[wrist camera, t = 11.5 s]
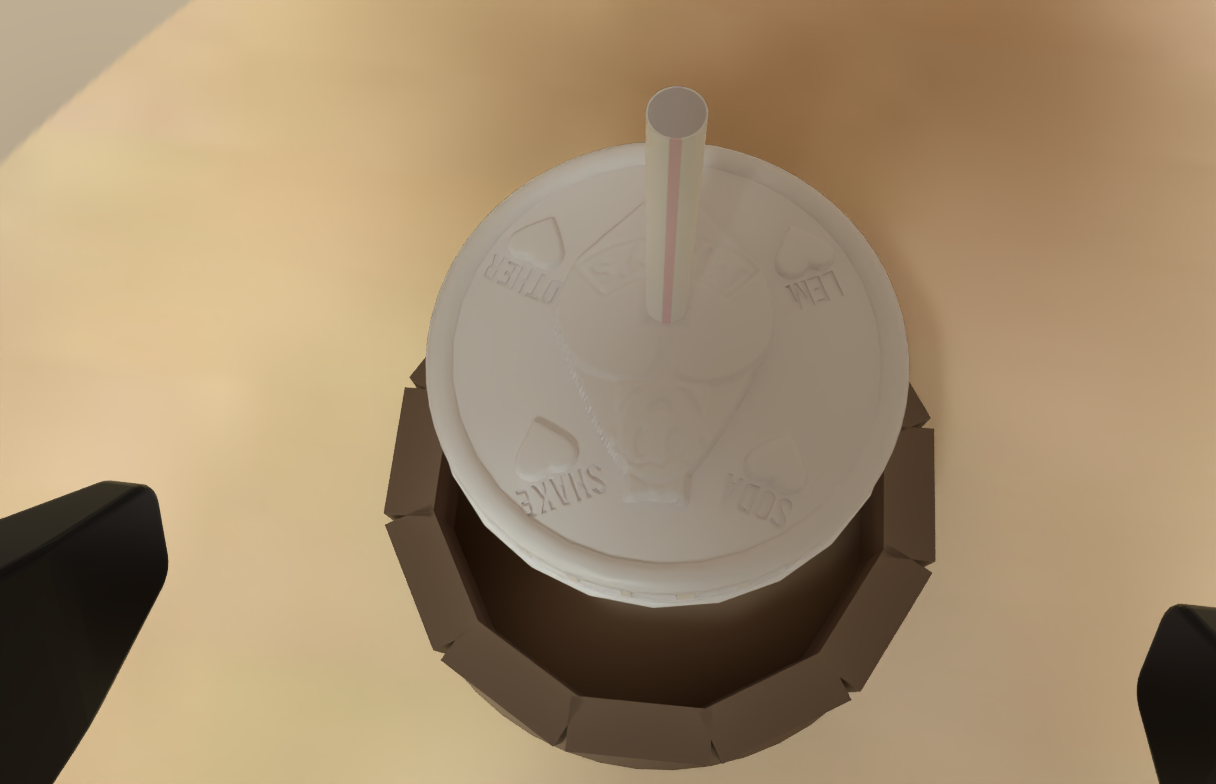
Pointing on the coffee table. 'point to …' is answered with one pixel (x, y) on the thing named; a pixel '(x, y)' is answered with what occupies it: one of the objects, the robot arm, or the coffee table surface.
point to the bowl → (658, 619)
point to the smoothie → (667, 368)
